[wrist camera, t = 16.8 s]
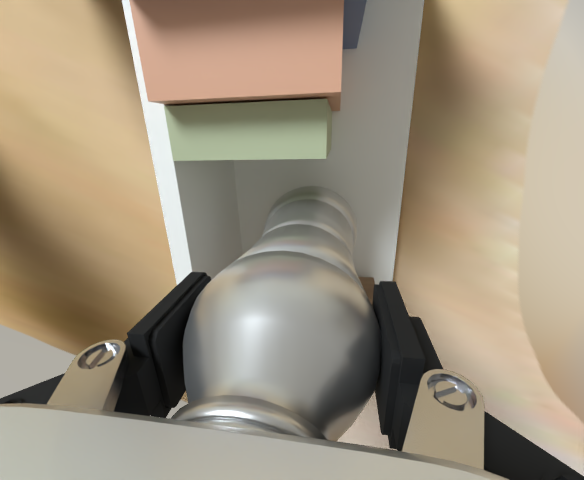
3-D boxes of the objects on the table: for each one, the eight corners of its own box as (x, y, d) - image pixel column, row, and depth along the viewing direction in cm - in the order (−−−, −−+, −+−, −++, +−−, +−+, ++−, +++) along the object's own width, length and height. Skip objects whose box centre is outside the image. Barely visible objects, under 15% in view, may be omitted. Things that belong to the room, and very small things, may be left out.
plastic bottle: (264, 189, 23) (-55, 437, 4) (349, 171, 21) (423, 437, 3) (283, 260, 25) (121, 638, 6) (361, 249, 23) (449, 699, 5)
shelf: (242, 330, 31) (182, 454, 19) (206, -8, 20) (18, -207, 8) (383, 341, 29) (414, 491, 17) (424, -33, 18) (590, -354, 6)
